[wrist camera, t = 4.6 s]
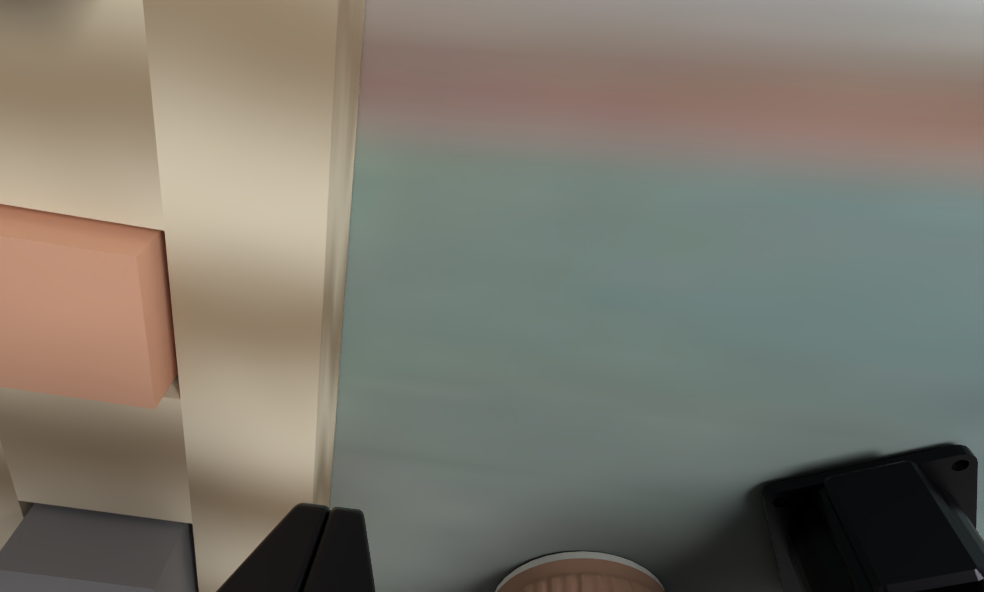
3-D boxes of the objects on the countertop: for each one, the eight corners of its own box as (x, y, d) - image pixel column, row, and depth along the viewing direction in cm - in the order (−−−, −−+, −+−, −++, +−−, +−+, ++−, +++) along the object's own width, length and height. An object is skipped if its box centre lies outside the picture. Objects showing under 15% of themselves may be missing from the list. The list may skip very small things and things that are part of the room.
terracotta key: (207, 325, 20) (155, 409, 17) (50, 301, 20) (-31, 382, 17) (199, 188, 18) (136, 257, 15) (19, 157, 17) (-81, 222, 14)
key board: (322, 594, 27) (303, 670, 25) (8, 554, 27) (-44, 628, 24) (401, -501, 11) (369, -601, 9) (-410, -702, 10) (-708, -877, 8)
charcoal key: (208, 572, 24) (166, 672, 22) (79, 556, 24) (19, 655, 21) (201, 489, 22) (153, 589, 19) (58, 470, 22) (-13, 568, 19)
